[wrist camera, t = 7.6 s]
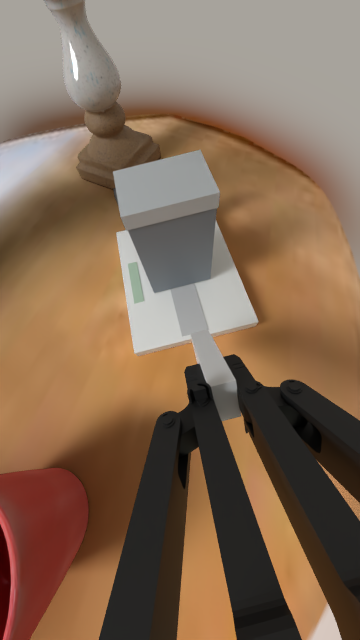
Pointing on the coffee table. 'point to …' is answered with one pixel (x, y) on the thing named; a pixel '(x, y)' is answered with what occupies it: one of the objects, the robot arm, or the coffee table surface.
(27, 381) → the coffee table surface
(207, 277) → the grey rectangular block
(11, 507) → the flower pot
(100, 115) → the candle holder
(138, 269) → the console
